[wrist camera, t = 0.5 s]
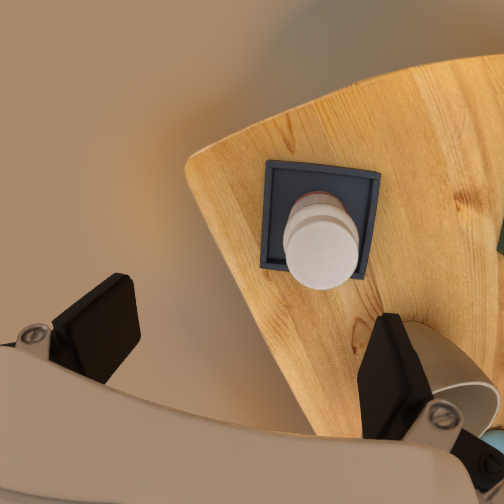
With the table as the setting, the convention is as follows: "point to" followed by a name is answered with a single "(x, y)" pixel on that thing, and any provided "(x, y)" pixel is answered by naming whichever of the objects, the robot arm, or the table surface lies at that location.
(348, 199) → the dark square tray
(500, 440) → the sugar bowl
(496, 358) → the table surface
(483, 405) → the plant pot
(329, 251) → the pill bottle
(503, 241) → the tray
